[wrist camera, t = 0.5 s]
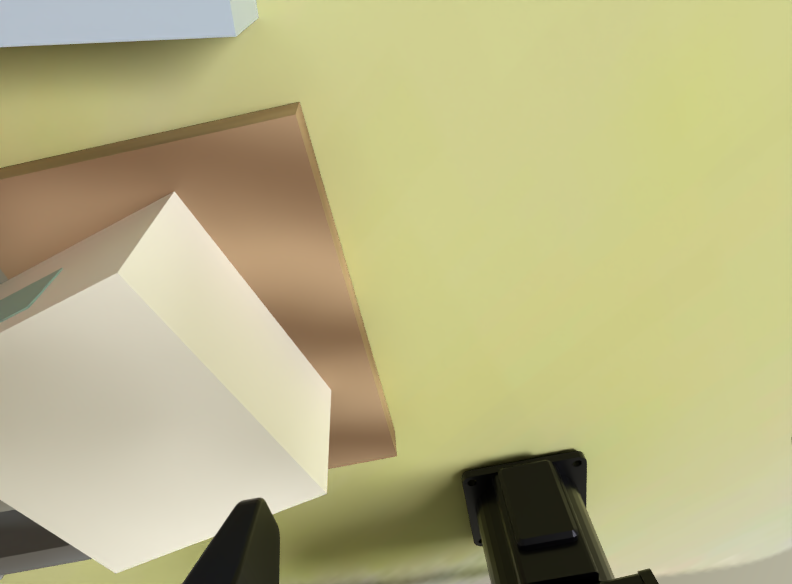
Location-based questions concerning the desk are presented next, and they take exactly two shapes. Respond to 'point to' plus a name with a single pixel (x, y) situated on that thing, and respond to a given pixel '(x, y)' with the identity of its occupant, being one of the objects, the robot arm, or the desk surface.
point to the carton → (151, 393)
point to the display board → (235, 236)
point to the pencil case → (120, 20)
